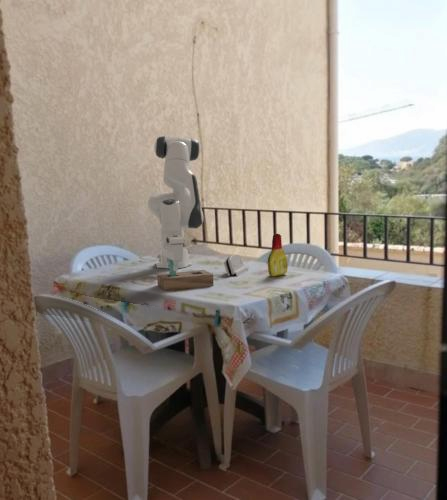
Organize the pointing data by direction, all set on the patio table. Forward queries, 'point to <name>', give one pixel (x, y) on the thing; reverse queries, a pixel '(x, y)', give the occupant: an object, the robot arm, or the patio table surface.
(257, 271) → the patio table surface
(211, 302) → the patio table surface
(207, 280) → the hole block
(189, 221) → the robot arm
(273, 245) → the bottle
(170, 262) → the peg
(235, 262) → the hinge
